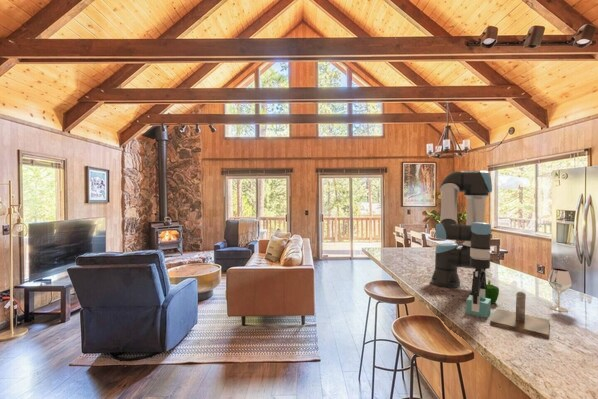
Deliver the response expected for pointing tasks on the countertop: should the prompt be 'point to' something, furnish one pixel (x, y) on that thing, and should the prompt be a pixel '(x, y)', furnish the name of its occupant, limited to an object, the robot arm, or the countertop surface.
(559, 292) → the wineglass
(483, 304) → the bead
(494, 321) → the post board
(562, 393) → the countertop surface
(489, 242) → the robot arm
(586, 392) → the countertop surface
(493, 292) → the bell pepper
